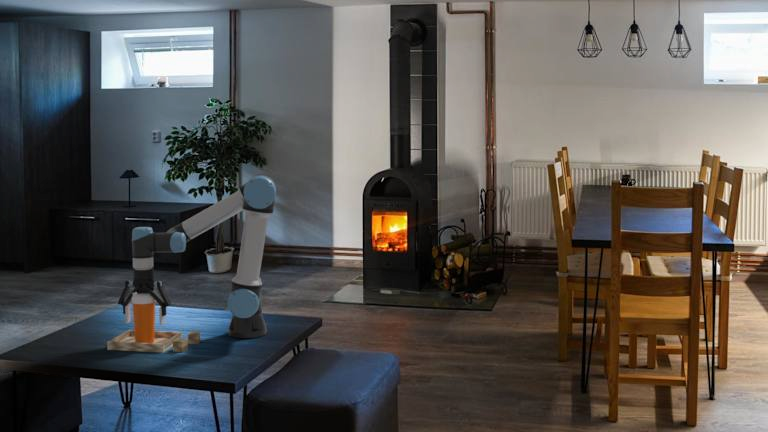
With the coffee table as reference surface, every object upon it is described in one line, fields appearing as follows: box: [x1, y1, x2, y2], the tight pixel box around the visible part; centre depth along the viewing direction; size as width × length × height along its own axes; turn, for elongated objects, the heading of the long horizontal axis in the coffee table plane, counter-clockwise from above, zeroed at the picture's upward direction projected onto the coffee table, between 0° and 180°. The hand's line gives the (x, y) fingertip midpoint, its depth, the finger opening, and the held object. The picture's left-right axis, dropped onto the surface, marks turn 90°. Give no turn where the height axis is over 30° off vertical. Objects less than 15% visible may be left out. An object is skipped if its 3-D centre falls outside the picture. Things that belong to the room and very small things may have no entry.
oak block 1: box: [172, 337, 189, 353], centre depth 314 cm, size 4×4×4 cm
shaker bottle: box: [130, 291, 157, 343], centre depth 320 cm, size 9×9×20 cm
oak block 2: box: [187, 330, 201, 345], centre depth 324 cm, size 4×4×4 cm
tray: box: [106, 329, 183, 353], centre depth 321 cm, size 22×18×3 cm
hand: (145, 323), depth 320 cm, fingers open, 13 cm apart
